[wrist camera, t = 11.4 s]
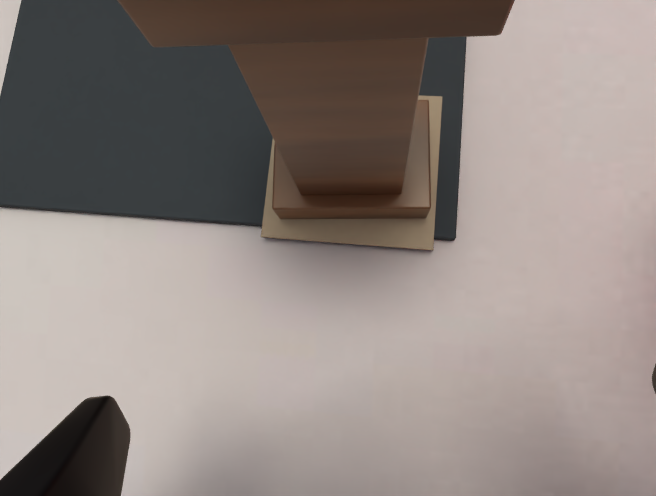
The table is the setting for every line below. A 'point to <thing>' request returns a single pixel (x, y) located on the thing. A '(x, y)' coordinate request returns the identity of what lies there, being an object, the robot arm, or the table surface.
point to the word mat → (178, 130)
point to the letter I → (332, 90)
